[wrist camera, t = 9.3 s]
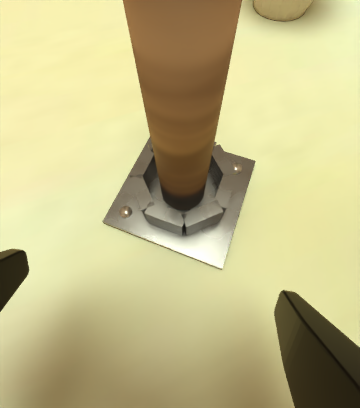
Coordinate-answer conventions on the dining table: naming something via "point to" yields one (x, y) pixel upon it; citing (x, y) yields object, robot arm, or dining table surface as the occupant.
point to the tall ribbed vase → (182, 85)
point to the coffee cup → (281, 9)
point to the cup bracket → (184, 219)
